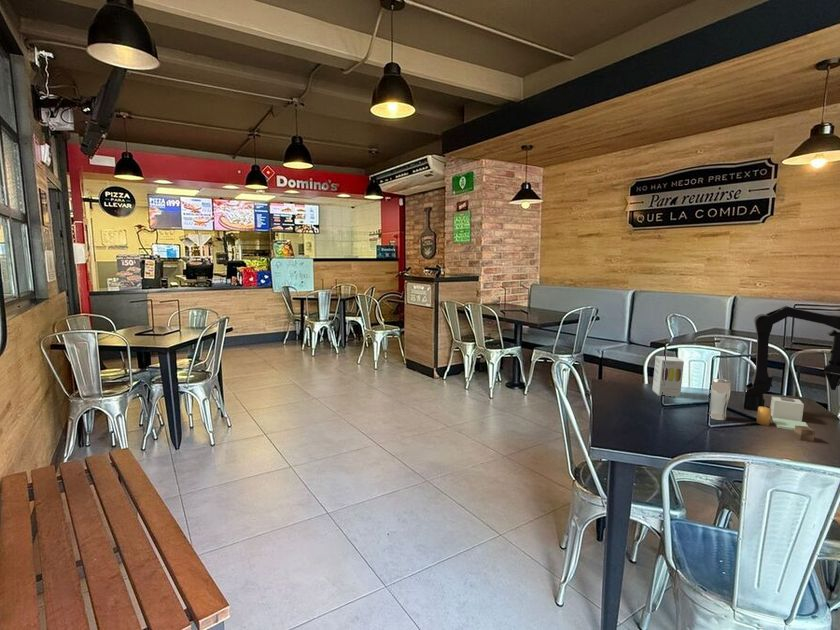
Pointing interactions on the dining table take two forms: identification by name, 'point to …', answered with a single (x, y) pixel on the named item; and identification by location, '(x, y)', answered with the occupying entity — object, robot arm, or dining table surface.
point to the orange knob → (763, 415)
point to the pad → (788, 423)
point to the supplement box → (668, 376)
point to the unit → (786, 408)
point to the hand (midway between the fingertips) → (835, 387)
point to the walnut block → (804, 433)
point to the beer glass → (719, 398)
